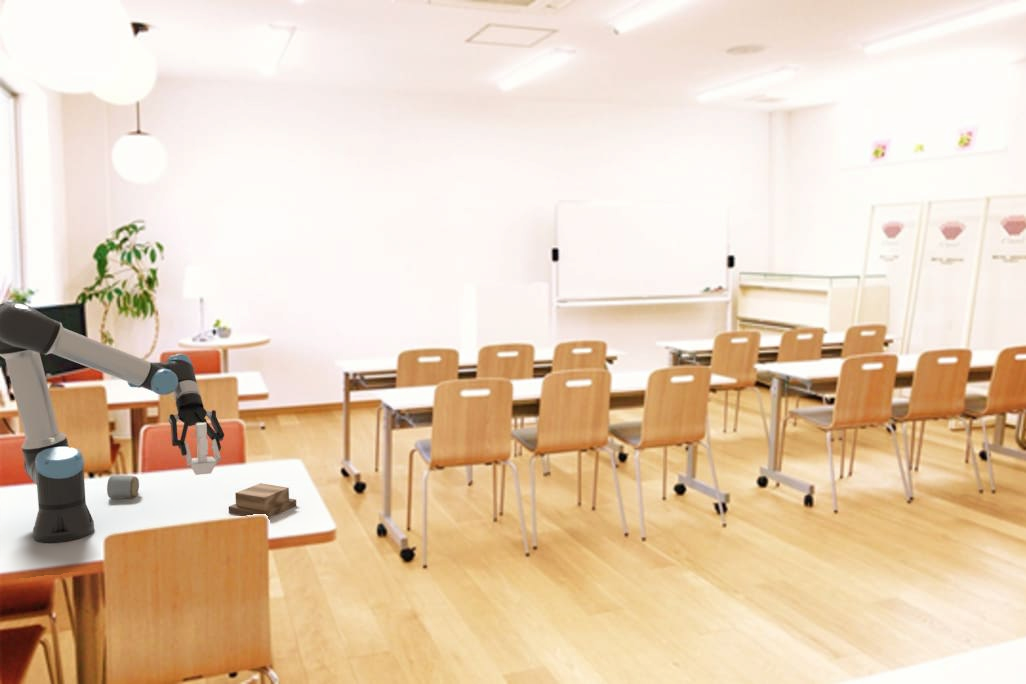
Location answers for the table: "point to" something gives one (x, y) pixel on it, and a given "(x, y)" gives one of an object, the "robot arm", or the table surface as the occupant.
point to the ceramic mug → (122, 486)
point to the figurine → (202, 452)
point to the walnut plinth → (268, 512)
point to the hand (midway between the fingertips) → (204, 461)
